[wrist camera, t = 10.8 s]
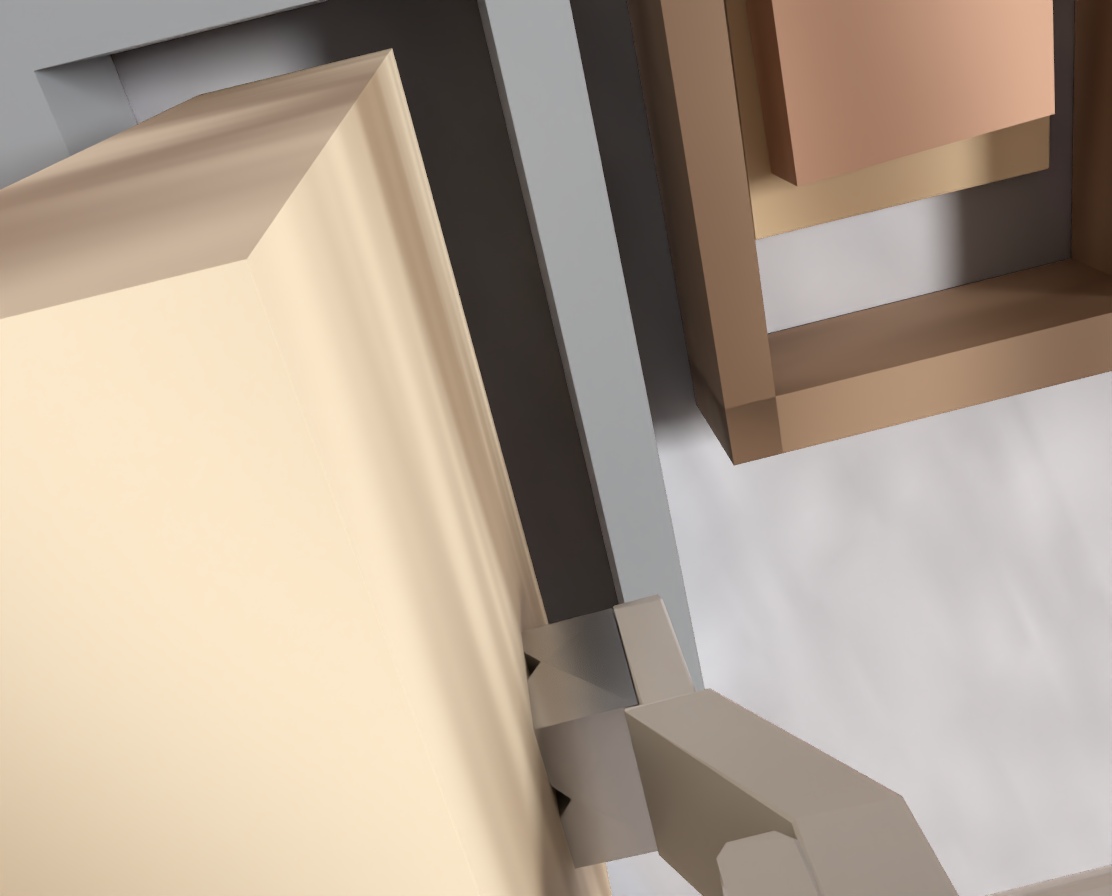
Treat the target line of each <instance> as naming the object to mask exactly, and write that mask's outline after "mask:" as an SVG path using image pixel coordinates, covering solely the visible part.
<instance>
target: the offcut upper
mask: <svg viewBox="0 0 1112 896" xmlns="http://www.w3.org/2000/svg"><path fill="white" fill-rule="evenodd" d="M746 4H747V11H748V18H749V24H750V31H751V38H752V44H753V51H754V58H755V65H756V71H757V78H758V85H759V91H760V98H761V105H762V112H763V118H764V125H765V132H766V138H767V145H768V152H769V158H770V165H771V172H772V174H774V175H776V176H778V177H780V178H782V179H784V180H786V181H787V182H789V183H791V184H793V185H795V186H797V187H799V186H802V185H806V184H809V183H813V182H816V181H820V180H823V179H827V178H830V177H834V176H838V175H841V174H845V173H848V172H852V171H855V170H859V169H862V168H866V167H869V166H873V165H876V164H880V163H883V162H887V161H890V160H894V159H897V158H901V157H904V156H908V155H911V154H915V153H919V152H922V151H926V150H929V149H933V148H936V147H940V146H943V145H947V144H950V143H954V142H957V141H961V140H964V139H968V138H971V137H975V136H978V135H982V134H985V133H989V132H992V131H996V130H1000V129H1003V128H1007V127H1010V126H1014V125H1017V124H1021V123H1024V122H1028V121H1031V120H1035V119H1038V118H1042V117H1045V116H1049V115H1052V114H1055V94H1054V43H1053V0H746Z"/></svg>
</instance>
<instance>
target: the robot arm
mask: <svg viewBox="0 0 1112 896" xmlns="http://www.w3.org/2000/svg"><path fill="white" fill-rule="evenodd" d="M613 612H614V614H613ZM521 635H522V643H523V651H524V655H525V658H526V662H527V665H528V669H529V672H530V677H529V679H528V680H527V683H528V691H529V699H530V707H531V714H532V722H533V730H534V733H535V737H536V740H537V743H538V747H539V750H540V753H541V757H542V760H543V763H544V767H545V770H546V773H547V777H548V780H549V784H550V786H552V787H553V788H555V789H556V795H557V802H558V808H559V815H560V820H561V824H562V827H563V830H564V834H565V837H566V841H567V844H568V847H569V851H570V854H571V857H572V861H573V864H574V867H575V869H576V868H580V867H585V866H590V865H594V864H599V863H604V862H608V861H613V860H617V859H622V858H627V857H631V856H636V855H640V854H645V853H650V852H654V851H658V852H659V855H660V856H661V857H662V858H663V859H664V860H665V861H666V862H667V863H668V864H670V865H671V866H672V867H673V868H674V869H675V870H676V871H677V872H678V873H679V874H680V875H681V876H682V877H683V878H684V879H686V880H687V881H688V882H689V883H690V884H691V885H692V886H693V887H694V888H695V889H696V890H697V891H698V892H699V893H701V894H702V895H703V896H959V895H958V894H957V892H956V890H955V888H954V886H953V885H952V883H951V881H950V879H949V878H948V876H947V874H946V872H945V871H944V869H943V867H942V865H941V864H940V862H939V860H938V858H937V857H936V855H935V853H934V851H933V850H932V848H931V846H930V844H929V843H928V841H927V839H926V837H925V835H924V834H923V832H922V830H921V828H920V827H919V825H918V823H917V821H916V820H915V818H914V816H913V814H912V813H911V811H910V809H909V807H908V806H907V804H906V802H905V800H904V799H903V797H902V796H901V795H899V794H897V793H895V792H894V791H892V790H890V789H888V788H887V787H885V786H883V785H881V784H879V783H878V782H876V781H874V780H872V779H871V778H869V777H867V776H865V775H863V774H862V773H860V772H858V771H856V770H855V769H853V768H851V767H849V766H847V765H846V764H844V763H842V762H840V761H839V760H837V759H835V758H833V757H831V756H830V755H828V754H826V753H824V752H822V751H821V750H819V749H817V748H815V747H814V746H812V745H810V744H808V743H806V742H805V741H803V740H801V739H799V738H798V737H796V736H794V735H792V734H790V733H789V732H787V731H785V730H783V729H782V728H780V727H778V726H776V725H774V724H773V723H771V722H769V721H767V720H766V719H764V718H762V717H760V716H758V715H757V714H755V713H753V712H751V711H750V710H748V709H746V708H744V707H742V706H741V705H739V704H737V703H735V702H733V701H732V700H730V699H728V698H726V697H725V696H723V695H721V694H719V693H717V692H716V691H714V690H712V689H705V690H700V691H696V690H695V687H694V684H693V681H692V679H691V676H690V673H689V671H688V668H687V665H686V662H685V660H684V657H683V654H682V651H681V649H680V646H679V643H678V640H677V638H676V635H675V632H674V629H673V627H672V624H671V621H670V618H669V616H668V613H667V610H666V607H665V605H664V602H663V599H662V597H660V596H659V595H658V594H655V595H651V596H648V597H644V598H641V599H637V600H633V601H630V602H626V603H623V604H619V605H615V606H613V610H612V608H609V609H606V610H602V611H598V612H594V613H590V614H586V615H582V616H578V617H574V618H570V619H566V620H562V621H559V622H555V623H551V624H547V625H543V626H539V627H535V628H531V629H527V630H523V631H522V632H521ZM986 896H1112V865H1108V866H1104V867H1100V868H1096V869H1092V870H1088V871H1084V872H1080V873H1076V874H1072V875H1068V876H1063V877H1059V878H1055V879H1051V880H1047V881H1043V882H1039V883H1035V884H1031V885H1027V886H1023V887H1019V888H1015V889H1011V890H1007V891H1002V892H998V893H994V894H990V895H986Z"/></svg>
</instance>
